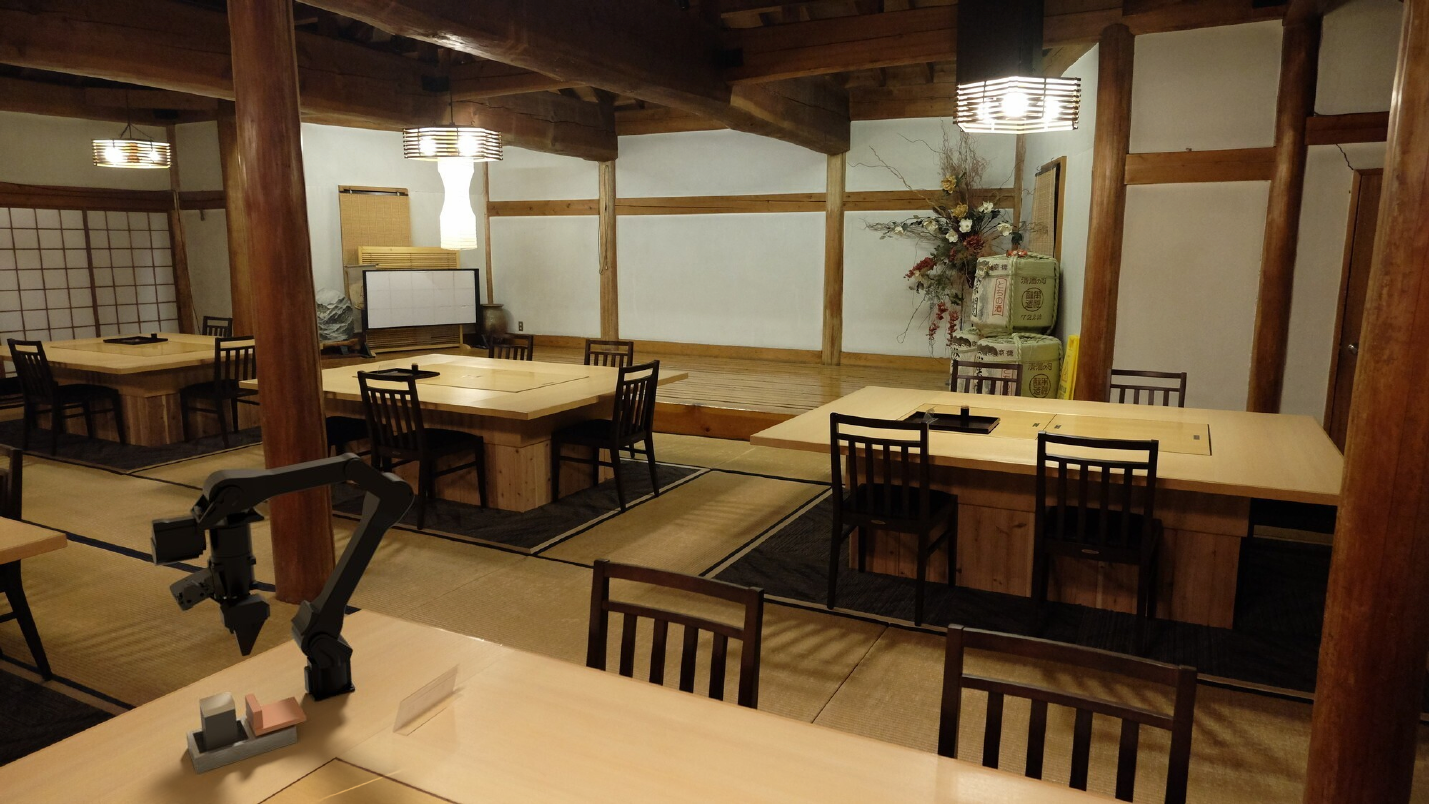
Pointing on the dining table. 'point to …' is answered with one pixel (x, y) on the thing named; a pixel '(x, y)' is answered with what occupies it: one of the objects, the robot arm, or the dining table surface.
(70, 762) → the dining table surface
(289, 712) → the salmon l-shaped block
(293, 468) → the robot arm
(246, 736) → the grey rectangular box
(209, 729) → the plug
